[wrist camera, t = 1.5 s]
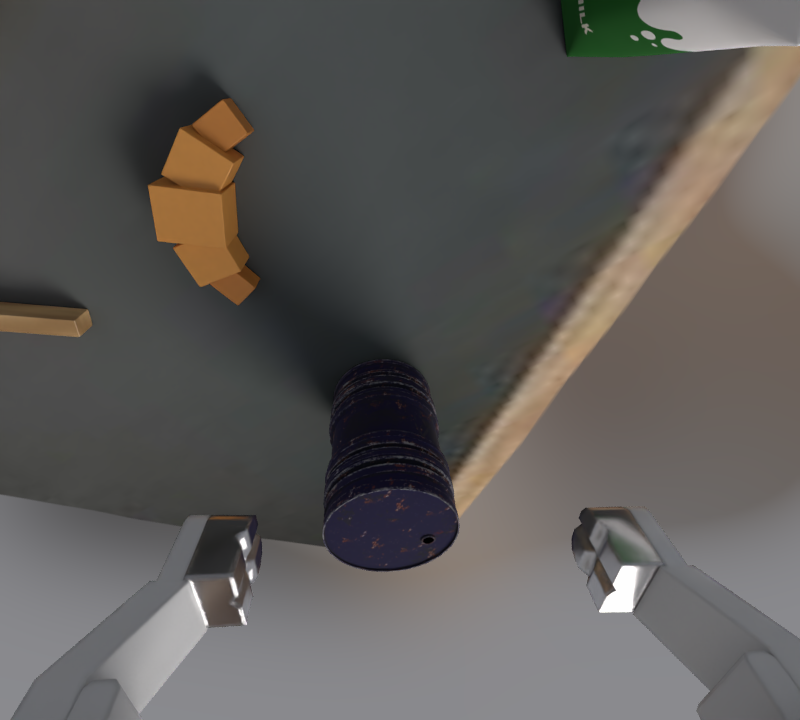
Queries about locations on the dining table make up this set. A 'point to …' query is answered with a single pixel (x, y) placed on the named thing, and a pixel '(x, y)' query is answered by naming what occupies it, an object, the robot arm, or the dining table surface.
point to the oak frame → (44, 319)
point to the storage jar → (386, 472)
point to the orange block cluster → (206, 201)
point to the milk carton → (676, 26)
